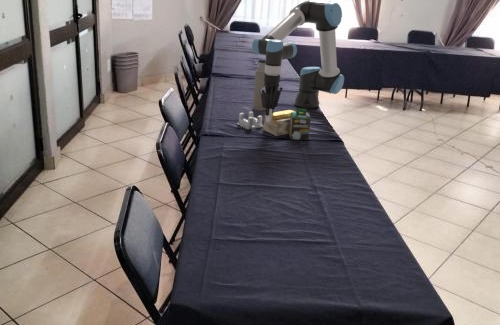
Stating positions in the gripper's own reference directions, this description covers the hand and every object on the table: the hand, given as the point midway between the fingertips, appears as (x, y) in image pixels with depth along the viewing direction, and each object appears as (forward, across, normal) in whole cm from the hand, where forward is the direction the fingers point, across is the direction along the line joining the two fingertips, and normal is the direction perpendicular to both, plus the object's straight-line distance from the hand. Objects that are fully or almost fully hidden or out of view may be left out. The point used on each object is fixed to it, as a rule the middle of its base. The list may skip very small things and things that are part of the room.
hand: (268, 121), depth 221 cm
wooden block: (+1, -9, 0) cm, 9 cm away
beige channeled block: (+6, -9, 0) cm, 11 cm away
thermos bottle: (+7, -23, -36) cm, 43 cm away
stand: (+6, +1, -13) cm, 14 cm away
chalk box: (+6, -11, +11) cm, 17 cm away
